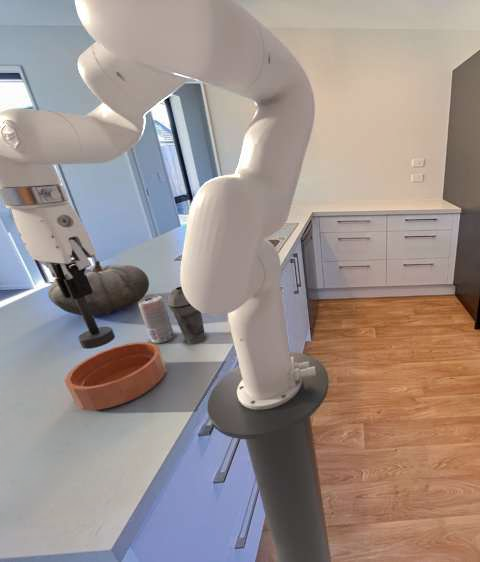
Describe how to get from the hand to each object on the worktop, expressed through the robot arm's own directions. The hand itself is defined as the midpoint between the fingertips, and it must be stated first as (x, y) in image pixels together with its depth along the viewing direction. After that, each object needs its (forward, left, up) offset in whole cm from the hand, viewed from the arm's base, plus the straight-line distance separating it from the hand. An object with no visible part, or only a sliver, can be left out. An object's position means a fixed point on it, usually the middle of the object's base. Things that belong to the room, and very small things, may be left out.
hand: (78, 295), depth 57 cm
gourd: (+24, -46, -22) cm, 56 cm away
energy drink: (-2, -19, -22) cm, 29 cm away
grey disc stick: (0, 0, -11) cm, 11 cm away
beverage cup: (-11, -16, -22) cm, 30 cm away
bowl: (-1, 0, -22) cm, 22 cm away
